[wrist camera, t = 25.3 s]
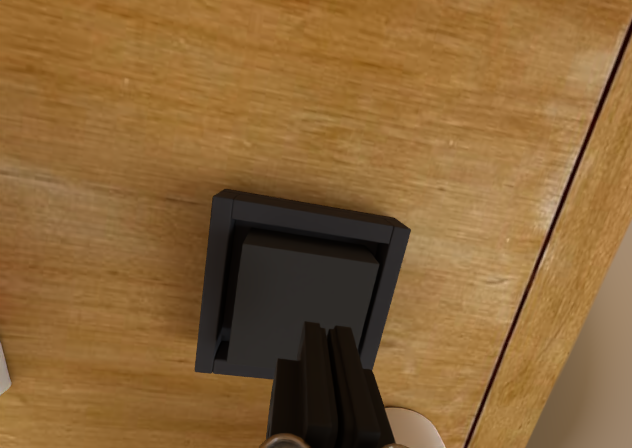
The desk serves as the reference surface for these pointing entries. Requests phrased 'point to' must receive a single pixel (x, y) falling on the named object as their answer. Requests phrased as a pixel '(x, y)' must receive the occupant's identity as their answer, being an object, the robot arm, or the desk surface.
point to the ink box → (3, 373)
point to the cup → (413, 429)
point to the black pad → (296, 293)
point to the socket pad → (296, 218)
